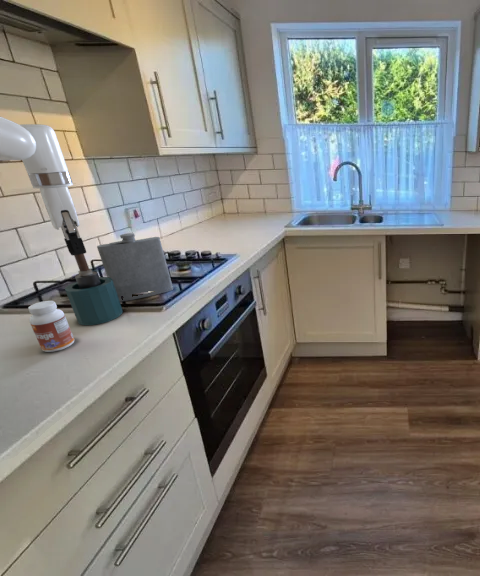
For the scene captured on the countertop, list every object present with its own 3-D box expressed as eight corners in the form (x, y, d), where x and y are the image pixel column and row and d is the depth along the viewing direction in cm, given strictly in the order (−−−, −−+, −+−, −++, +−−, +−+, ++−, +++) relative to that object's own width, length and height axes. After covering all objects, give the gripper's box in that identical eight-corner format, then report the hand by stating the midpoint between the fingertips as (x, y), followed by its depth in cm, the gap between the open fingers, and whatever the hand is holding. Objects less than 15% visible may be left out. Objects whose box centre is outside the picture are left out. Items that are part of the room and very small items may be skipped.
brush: (82, 296, 96) (59, 235, 89) (80, 291, 99) (57, 232, 92) (104, 291, 99) (83, 231, 92) (101, 286, 102) (80, 228, 95)
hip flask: (172, 287, 121) (156, 228, 113) (174, 290, 118) (158, 230, 110) (115, 299, 113) (94, 236, 105) (115, 303, 109) (93, 239, 102)
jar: (81, 329, 95) (67, 294, 91) (75, 317, 102) (62, 284, 98) (126, 316, 102) (115, 283, 98) (118, 305, 108) (107, 274, 104)
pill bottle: (35, 352, 85) (15, 310, 80) (59, 339, 90) (41, 298, 86) (59, 353, 84) (40, 310, 80) (81, 339, 90) (65, 299, 86)
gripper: (28, 179, 90) (56, 250, 97) (33, 184, 80) (63, 263, 87) (66, 176, 95) (90, 244, 102) (75, 180, 84) (101, 255, 92)
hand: (78, 252), depth 94 cm, fingers closed on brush
